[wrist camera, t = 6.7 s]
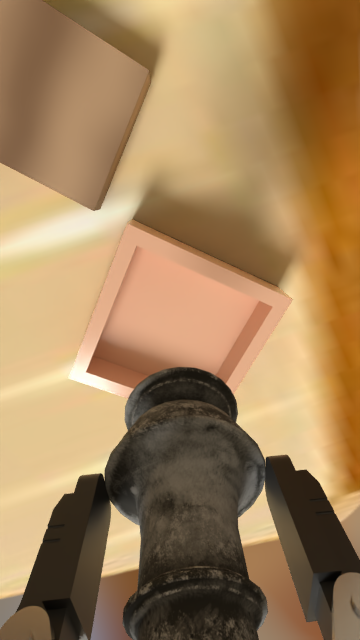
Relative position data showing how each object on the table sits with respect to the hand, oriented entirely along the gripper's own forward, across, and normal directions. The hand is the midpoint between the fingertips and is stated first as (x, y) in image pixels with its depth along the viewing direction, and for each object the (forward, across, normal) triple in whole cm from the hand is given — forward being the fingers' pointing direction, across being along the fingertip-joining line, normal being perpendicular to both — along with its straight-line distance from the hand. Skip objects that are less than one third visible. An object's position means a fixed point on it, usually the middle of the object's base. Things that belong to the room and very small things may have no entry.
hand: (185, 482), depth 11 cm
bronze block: (+15, +7, -16) cm, 23 cm away
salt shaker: (+4, 0, 0) cm, 4 cm away
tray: (+14, 0, 0) cm, 14 cm away
